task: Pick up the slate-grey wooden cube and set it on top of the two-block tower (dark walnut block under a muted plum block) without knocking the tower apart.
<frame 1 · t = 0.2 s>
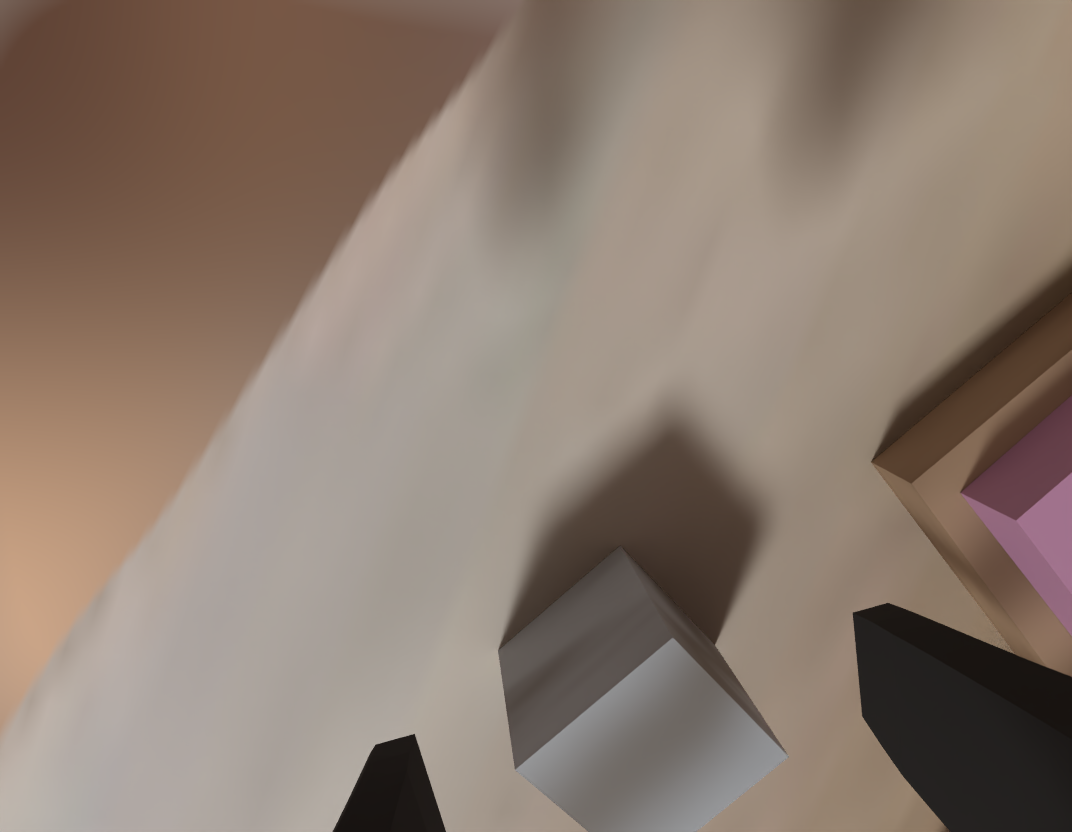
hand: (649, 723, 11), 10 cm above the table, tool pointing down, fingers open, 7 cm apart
slate cube: (608, 646, 22), on the table
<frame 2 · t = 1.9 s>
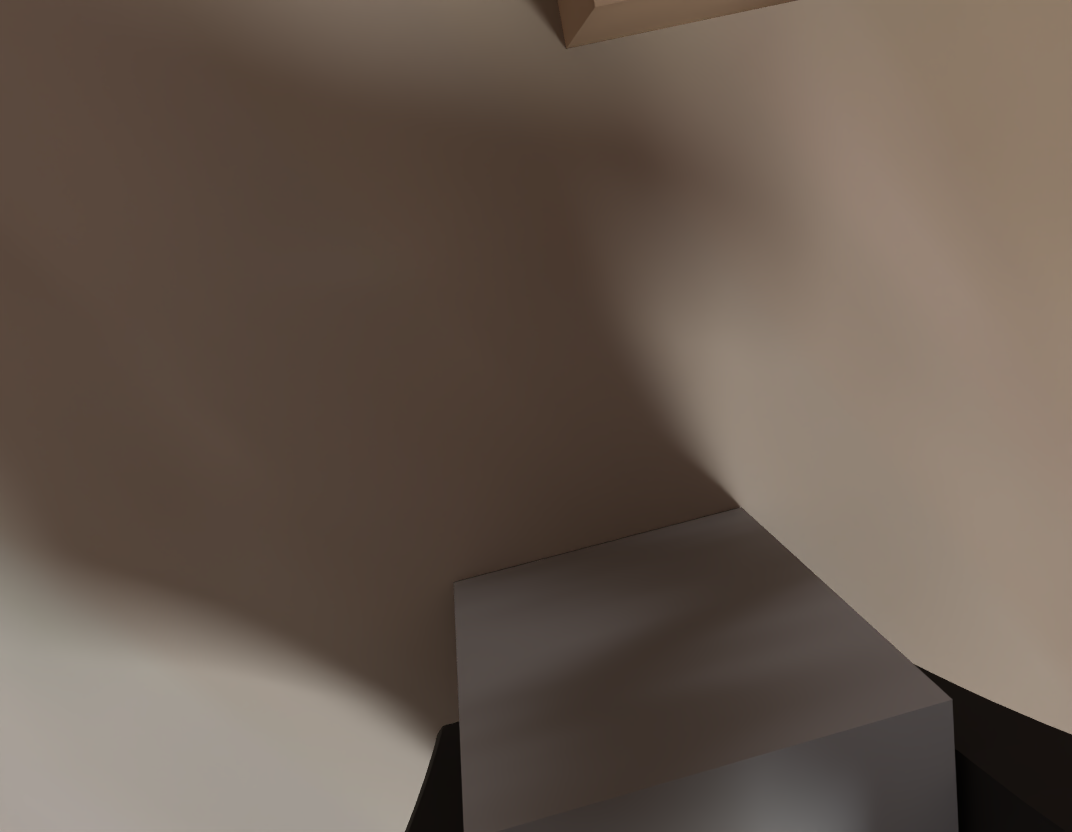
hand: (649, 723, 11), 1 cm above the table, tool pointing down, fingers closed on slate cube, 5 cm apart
slate cube: (625, 668, 12), on the table, touching gripper
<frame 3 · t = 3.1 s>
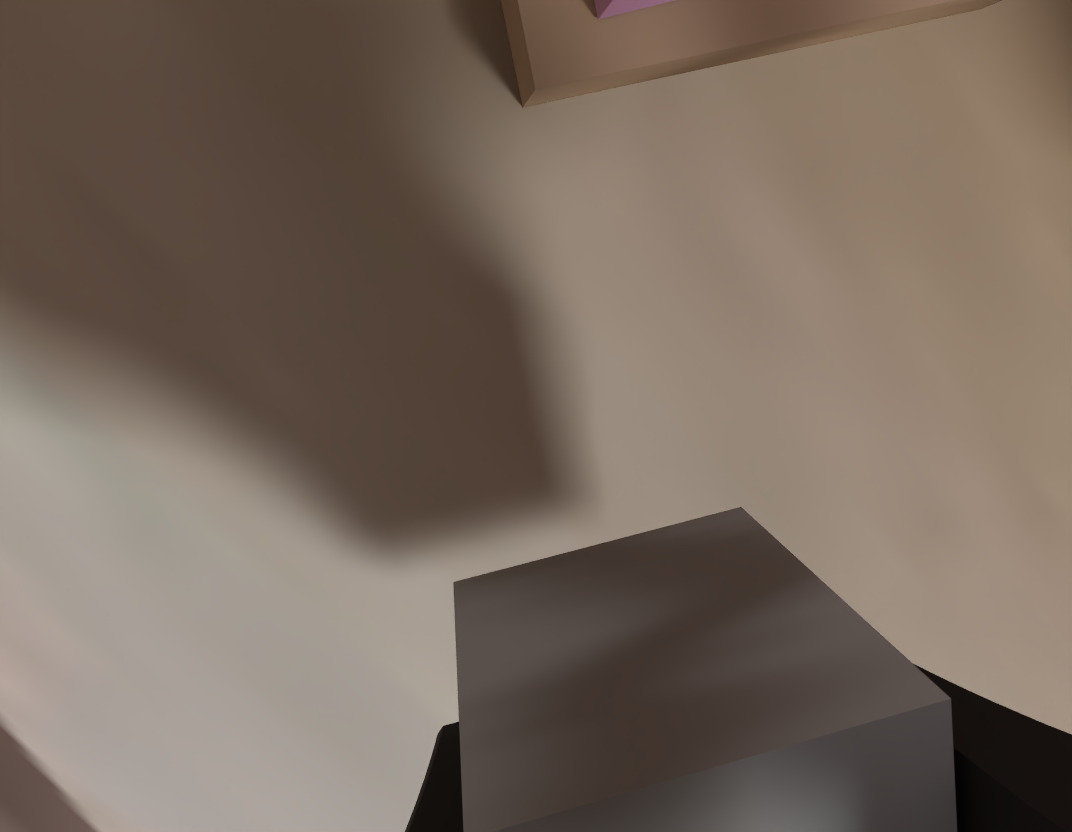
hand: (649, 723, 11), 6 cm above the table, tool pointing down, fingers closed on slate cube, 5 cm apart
slate cube: (625, 668, 12), point 4 cm above the table, touching gripper
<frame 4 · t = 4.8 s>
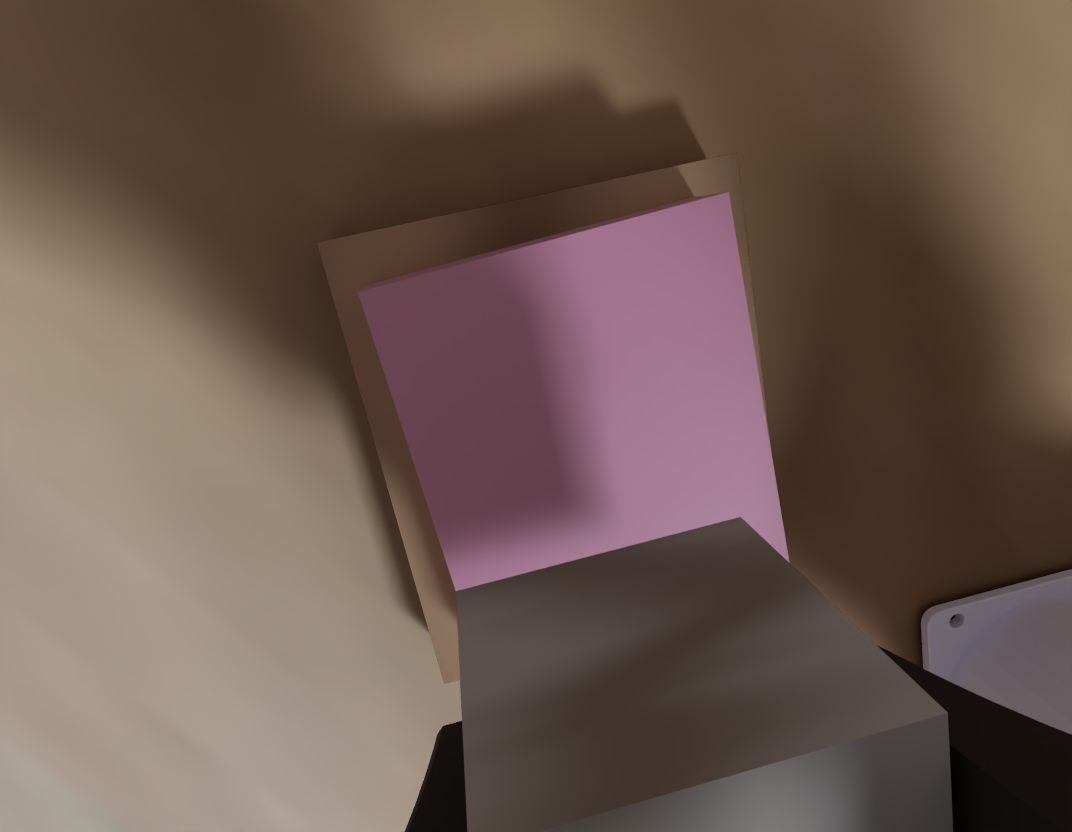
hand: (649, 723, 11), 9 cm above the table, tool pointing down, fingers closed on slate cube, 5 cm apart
walnut base block: (562, 413, 20), on the table, touching plum top block
slate cube: (625, 676, 12), point 8 cm above the table, touching gripper
plum top block: (582, 435, 18), point 2 cm above the table, touching walnut base block
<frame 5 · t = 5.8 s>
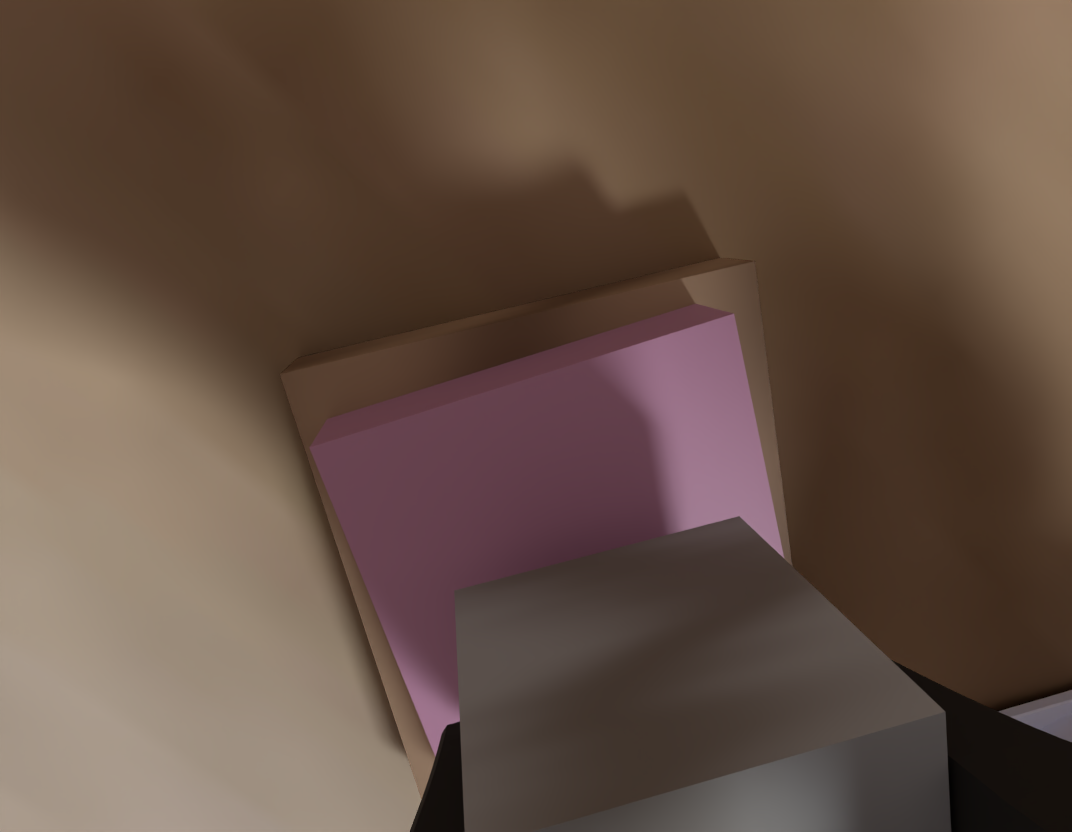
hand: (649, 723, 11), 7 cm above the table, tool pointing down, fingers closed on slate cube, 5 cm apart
walnut base block: (561, 527, 18), on the table, touching plum top block
slate cube: (624, 675, 12), point 5 cm above the table, touching gripper
plum top block: (576, 567, 16), point 2 cm above the table, touching walnut base block
when the fingers open (7 cm above the table, at t = 6.2 s): slate cube drops 2 cm, point 4 cm above the table.
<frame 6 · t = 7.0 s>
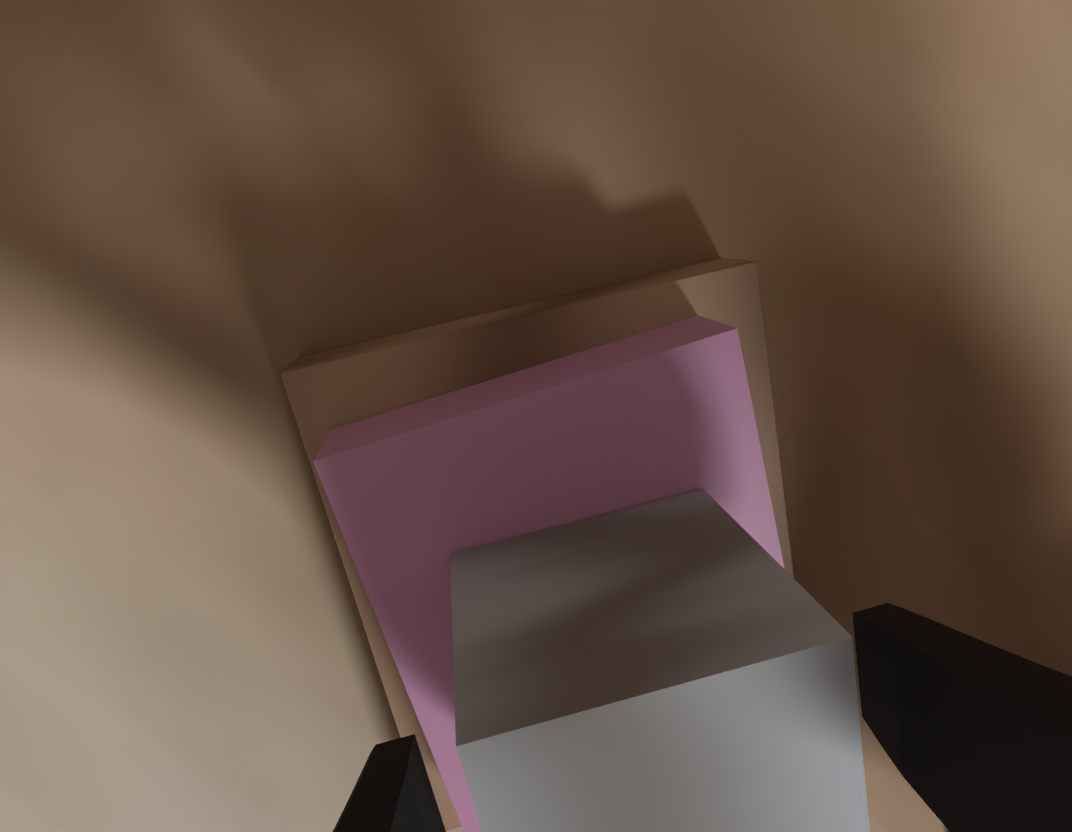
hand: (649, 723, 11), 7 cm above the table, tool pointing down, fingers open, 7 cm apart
walnut base block: (561, 527, 18), on the table, touching plum top block
slate cube: (601, 631, 14), point 4 cm above the table
plum top block: (577, 576, 16), point 2 cm above the table, touching walnut base block
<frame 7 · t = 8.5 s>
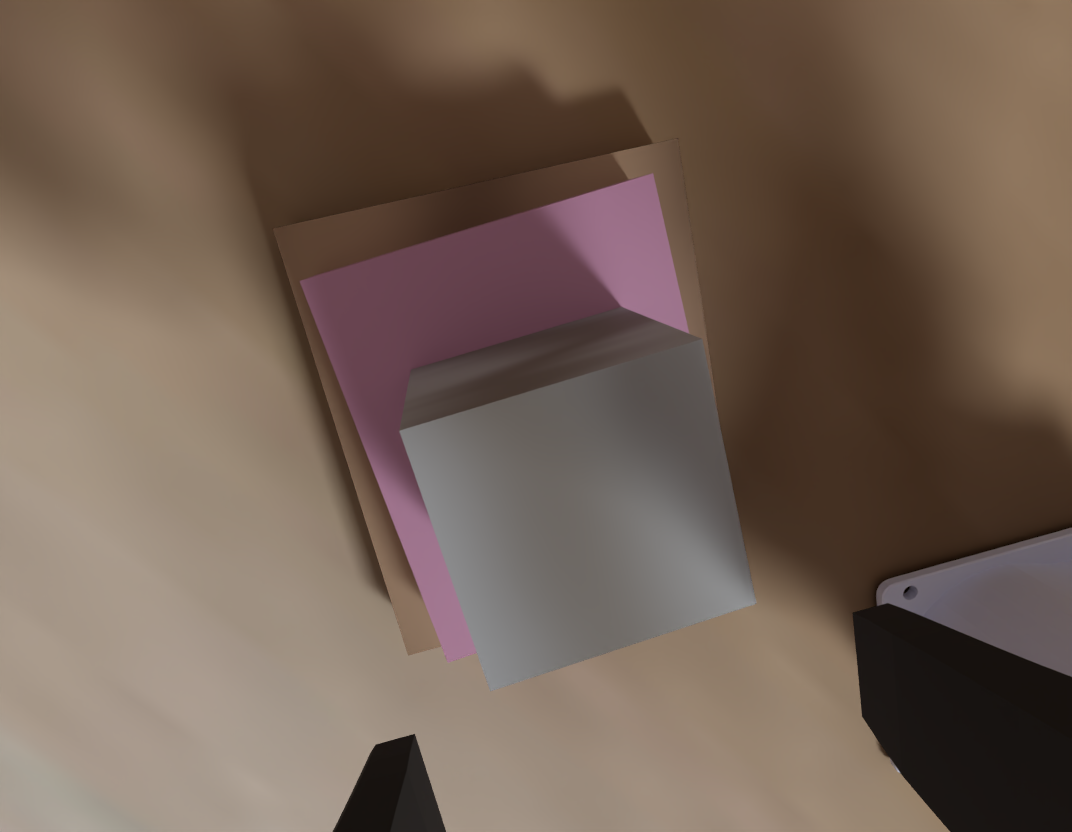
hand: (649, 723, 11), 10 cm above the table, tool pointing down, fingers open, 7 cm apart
walnut base block: (521, 394, 21), on the table, touching plum top block
slate cube: (545, 438, 16), point 4 cm above the table, touching plum top block
plum top block: (531, 414, 18), point 2 cm above the table, touching slate cube, walnut base block
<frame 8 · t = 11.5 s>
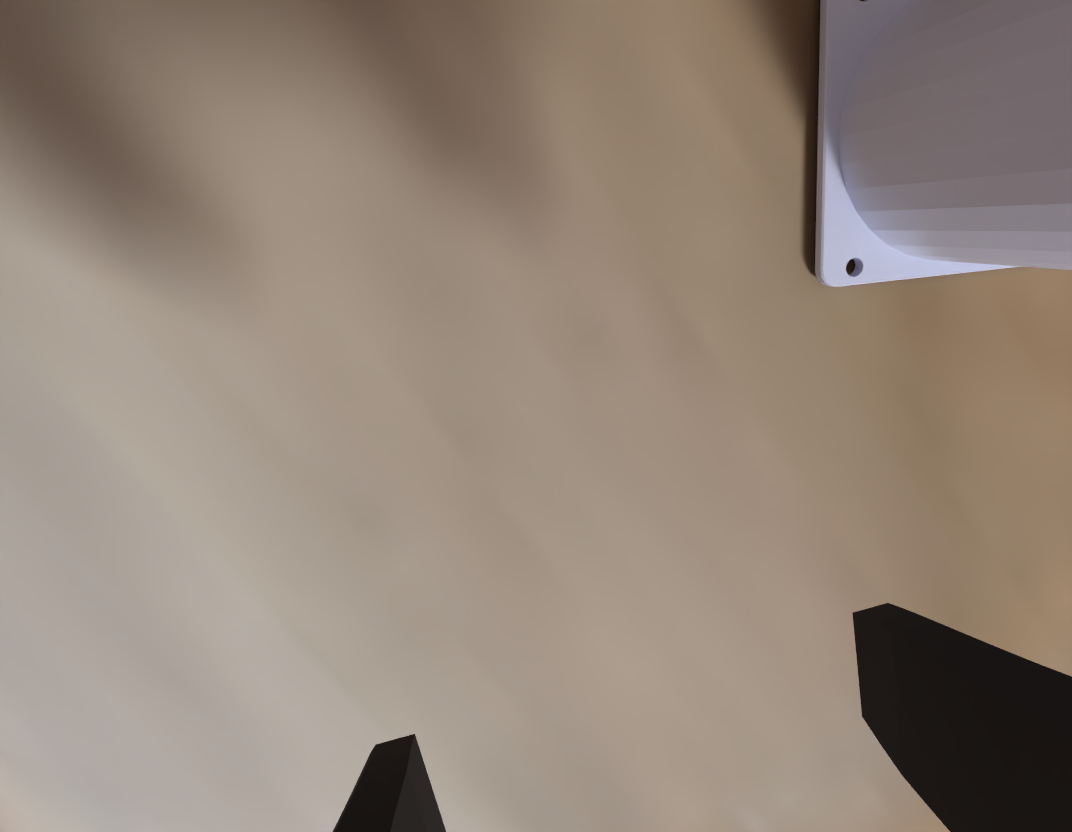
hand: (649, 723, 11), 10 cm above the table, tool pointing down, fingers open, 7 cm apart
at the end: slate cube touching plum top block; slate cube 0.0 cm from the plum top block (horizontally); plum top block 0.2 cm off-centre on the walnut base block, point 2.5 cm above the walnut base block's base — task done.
